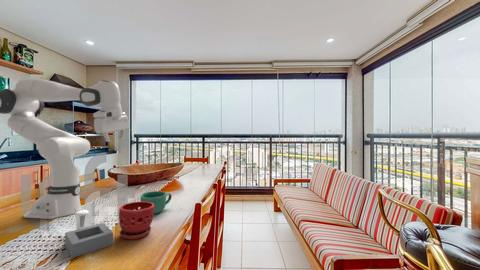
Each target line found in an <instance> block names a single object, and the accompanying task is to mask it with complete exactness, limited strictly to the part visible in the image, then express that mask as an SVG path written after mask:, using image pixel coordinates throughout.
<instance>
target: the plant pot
mask: <svg viewBox="0 0 480 270" xmlns="http://www.w3.org/2000/svg"><path fill="white" fill-rule="evenodd" d="M154 206H155V205H154V204H153V203H151V202H141V201H132V202H128V203H125V204H124V203H123V205H120V207H119V210H118V220H119V221H118V222H119V227H120V229H121V230H119V236H120V237H121V238H123V239H126V240H135V239H140V238H143V237H145V236H147V235H148V234H149V233H150V232H151V231H152V227H151V225H152V222H153V220H154V215H155V214H154ZM144 208H146V209H144Z"/></svg>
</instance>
